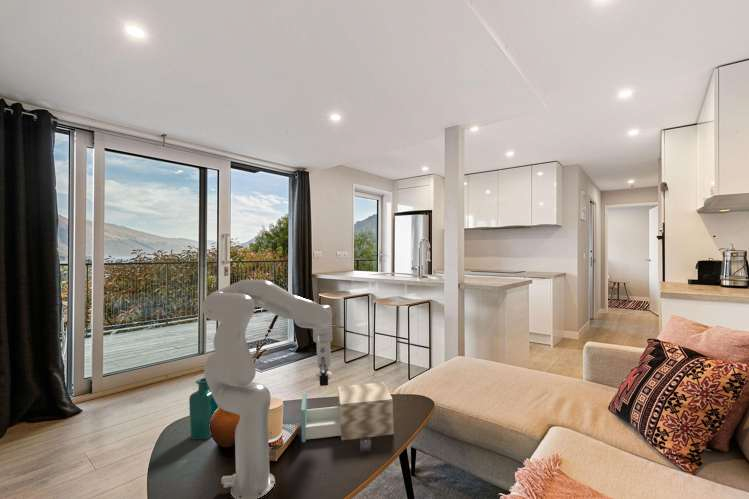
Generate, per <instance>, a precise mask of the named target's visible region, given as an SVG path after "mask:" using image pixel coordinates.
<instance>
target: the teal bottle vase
mask: <svg viewBox="0 0 749 499" xmlns="http://www.w3.org/2000/svg"><path fill="white" fill-rule="evenodd" d="M195 384H198V385H197V386H198V388H197V390H196V391H195V392H193V393H191V394H190V396H189V400H188V402H189V405H188V406H189V407H188V408H189V436H190V439H191V438H194V439H193V440H198V439H206V440H209V439H211V438H212V437H211V433H210V427H209V424H210V419H211V417H212V415H213V413H214V411H215V410H216V409H217V408H218V409H219V407H218V405H217V404H216V402H215V400H214V398H213V395H212V393H211V391H210V388H209V386H208V384H207V381H206V379H205V377H203V378H198V379H197V380H195ZM208 438H209V439H208Z"/></svg>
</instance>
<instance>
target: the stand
mask: <svg viewBox="0 0 749 499" xmlns="http://www.w3.org/2000/svg"><path fill="white" fill-rule="evenodd" d="M371 451H372V439H371V437H362V438H359V452H360V453H363V454H367V453H370V452H371Z"/></svg>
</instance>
